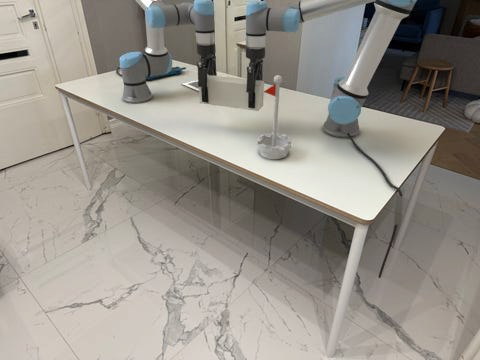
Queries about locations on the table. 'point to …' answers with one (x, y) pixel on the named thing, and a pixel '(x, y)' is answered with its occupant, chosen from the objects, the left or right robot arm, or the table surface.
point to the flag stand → (274, 131)
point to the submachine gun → (173, 71)
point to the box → (232, 92)
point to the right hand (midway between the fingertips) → (254, 104)
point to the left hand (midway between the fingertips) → (208, 99)
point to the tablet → (192, 85)
